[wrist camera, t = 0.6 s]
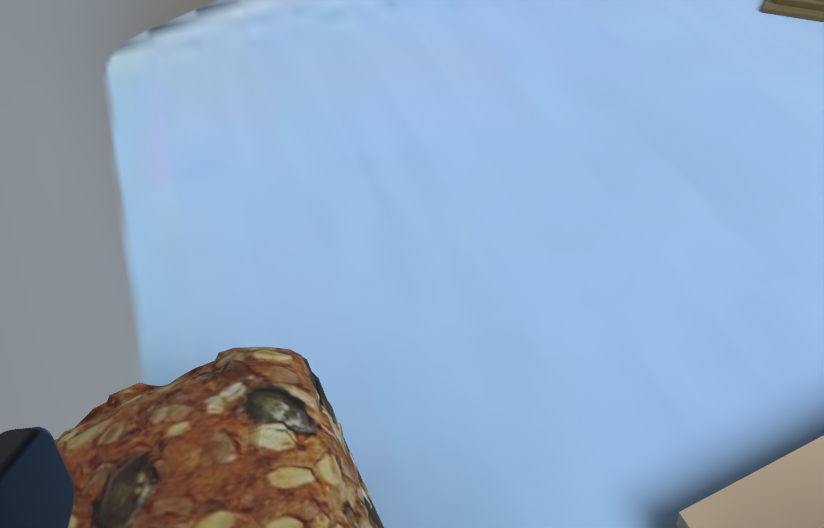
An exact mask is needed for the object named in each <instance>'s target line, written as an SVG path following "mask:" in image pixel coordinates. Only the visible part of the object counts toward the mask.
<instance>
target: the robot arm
mask: <svg viewBox="0 0 824 528" xmlns="http://www.w3.org/2000/svg"><path fill="white" fill-rule="evenodd" d="M74 495H75V493H74V485H73V481H72V478H71V476H70V473H69V471H68V469H67V467H66V465H65V463H64V460H63V458H62V456H61V454H60V452H59V450H58V447H57V445H56V443H55V441H54V439H53V437H52V435H51V434H50V433H49V432H48V431H47V430H46V429H44V428H41V427H33V428H24V429H15V430H9V431H6V432H3V433H2V434H0V528H68V527H69V522H70V518H71V514H72V509H73V505H74Z"/></svg>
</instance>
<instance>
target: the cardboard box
mask: <svg viewBox="0 0 824 528" xmlns="http://www.w3.org/2000/svg"><path fill="white" fill-rule="evenodd" d="M676 528H824V435H823V436H821V437H819V438H818V439H816V440H814V441H812V442H810V443H808V444H806V445H804V446H802V447H801V448H799V449H797V450H795V451H793V452H791V453H789V454H787V455H785V456H784V457H782V458H780V459H778V460H776V461H774V462H772V463H770V464H768V465H767V466H765V467H763V468H761V469H759V470H757V471H755V472H753V473H752V474H750V475H748V476H746V477H744V478H742V479H740V480H738V481H736V482H735V483H733V484H731V485H729V486H727V487H725V488H723V489H721V490H719V491H718V492H716V493H714V494H712V495H710V496H708V497H706V498H704V499H703V500H701V501H699V502H697V503H695V504H693V505H691V506H689V507H687V508H686V509H684V510H682V511H680V512H679V514H678V518H677V523H676Z"/></svg>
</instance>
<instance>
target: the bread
mask: <svg viewBox="0 0 824 528" xmlns="http://www.w3.org/2000/svg"><path fill="white" fill-rule="evenodd" d="M54 441H55V443H56V445H57V447H58V450H59V452H60V454H61V456H62V458H63V460H64V463H65V465H66V467H67V469H68V471H69V473H70V476H71V478H72V481H73V485H74V493H75V495H74V505H73V509H72V514H71V518H70V522H69V527H68V528H384V527H383V525H382V523H381V520H380V518H379V516H378V514H377V512H376V510H375V508H374V505H373V503H372V501H371V498H370V496H369V494H368V491H367V489H366V486H365V485H364V483H363V481H362V479H361V476H360V474H359V472H358V469H357V467H356V465H355V462H354V459H353V457H352V454H351V453H350V451H349V449H348V446H347V444H346V442H345V439H344V437H343V432H342V427H341V424H340V423H338V422H337V419H336V417H335V414H334V412H333V409H332V406H331V405H330V403H329V402H328V400H327V398H326V396H325V394H324V391H323V388H322V386H321V383H320V381H319V379H318V377H317V376H316V375H315V374H314V373H313V372H312V371H311V368H310V366H309V364H308V361H307V359H305V358H303V357H302V356H301V355H300V354H298V353H296V352H294V351H292V350H289V349H281V348H271V347H249V348H233V349H229V350H226V351H223V352H220V353H218V356H217V358H216V361H213V362H210V363H208V364H205V365H203V366H200V367H198V368H195V369H193V370H191V371H190V372H188V373H186V374H184V375H182V376H181V377H179V378H178V379H176V380H175V381H173V382H172V383H170V384H168V385H165V386H150V385H146V384H143V383H138V384H135V385H133V386H131V387H129V388H126V389H124V390H121V391H119V392H117V393H114V394H112V395H110V396H109V398H108V401H107V402H106V403H104V404H102V405H100V406H98V407H96V408H94V409H93V410H92V411H91V412H90V413H89V414H88V415H87V416H86V417H85V418H84V419H83V420H82V421H81V422H80V423H79V424H78V425H77V426H76V427H75V428H73V429H70V430H68V431H65V432H64V433H63V434H62V435H61V437H60V438H59V439H57V440H54Z"/></svg>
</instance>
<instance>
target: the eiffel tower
mask: <svg viewBox="0 0 824 528" xmlns="http://www.w3.org/2000/svg"><path fill="white" fill-rule="evenodd" d="M762 13H769V14H775V15H781V16H787V17H794V18H800V19H806V20H813V21H819V22H824V0H766V2H765V4H764V6H763V8H762Z"/></svg>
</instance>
